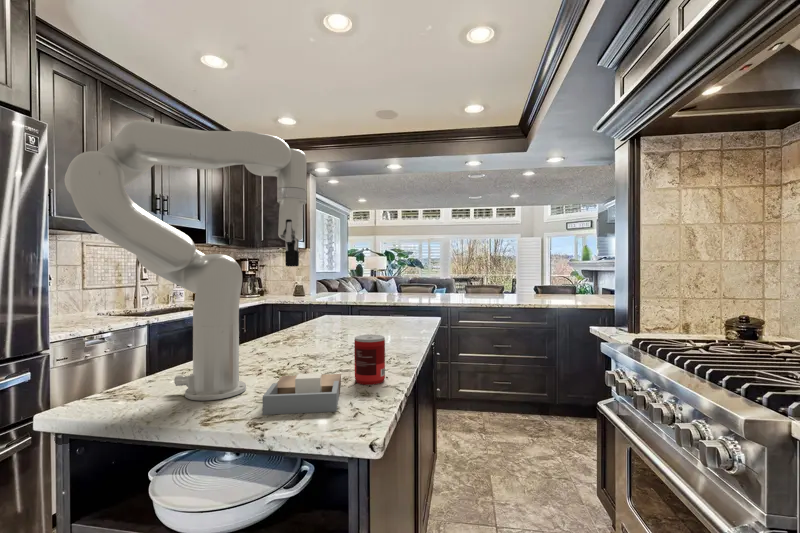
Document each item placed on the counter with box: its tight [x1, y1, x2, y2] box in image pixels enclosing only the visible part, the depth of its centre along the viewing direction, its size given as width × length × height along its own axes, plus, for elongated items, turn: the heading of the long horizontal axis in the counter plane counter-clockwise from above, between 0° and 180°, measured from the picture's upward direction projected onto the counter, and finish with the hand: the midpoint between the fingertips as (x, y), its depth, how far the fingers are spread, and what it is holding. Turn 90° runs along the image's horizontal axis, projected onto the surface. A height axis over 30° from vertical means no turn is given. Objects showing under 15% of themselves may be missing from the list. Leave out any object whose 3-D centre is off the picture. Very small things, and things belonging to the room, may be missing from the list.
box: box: [262, 381, 340, 416], centre depth 79 cm, size 14×9×4 cm, turn 96°
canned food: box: [353, 334, 386, 386], centre depth 98 cm, size 8×8×11 cm
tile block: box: [295, 372, 323, 394], centre depth 81 cm, size 5×5×4 cm
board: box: [276, 373, 342, 394], centre depth 89 cm, size 14×10×2 cm
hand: (292, 266), depth 103 cm, fingers closed
